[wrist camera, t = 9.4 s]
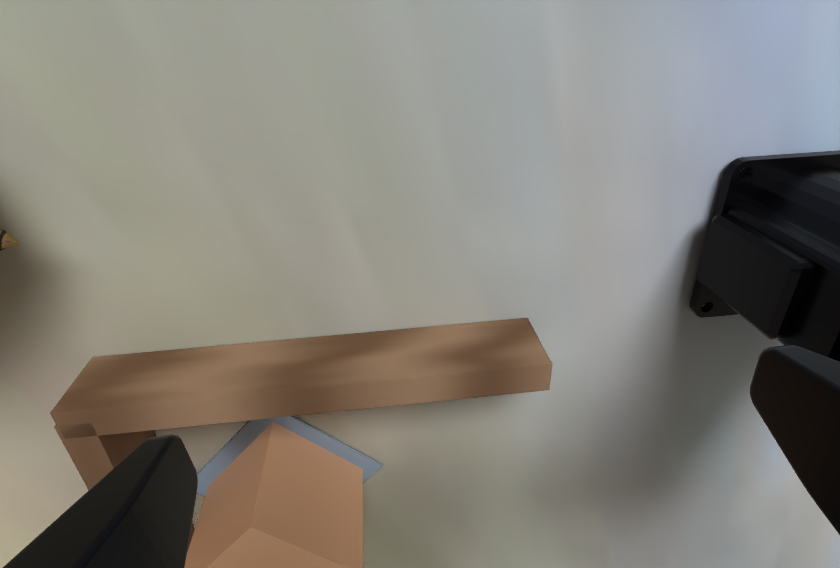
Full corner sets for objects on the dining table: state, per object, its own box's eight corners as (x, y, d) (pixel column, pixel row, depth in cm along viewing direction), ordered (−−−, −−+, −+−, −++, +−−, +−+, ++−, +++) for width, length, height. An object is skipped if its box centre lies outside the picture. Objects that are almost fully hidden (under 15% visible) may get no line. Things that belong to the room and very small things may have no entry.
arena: (527, 317, 20) (552, 363, 18) (505, 581, 29) (520, 637, 27) (89, 357, 19) (46, 413, 16) (208, 619, 28) (193, 682, 26)
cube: (273, 421, 21) (250, 527, 17) (362, 469, 23) (363, 574, 19) (208, 485, 23) (173, 598, 19) (298, 525, 25) (285, 635, 21)
